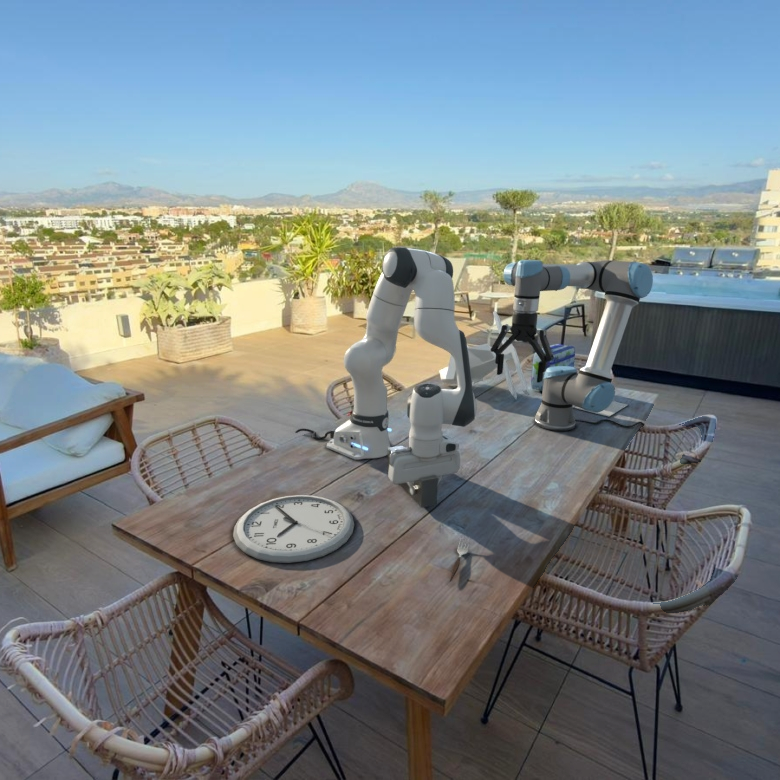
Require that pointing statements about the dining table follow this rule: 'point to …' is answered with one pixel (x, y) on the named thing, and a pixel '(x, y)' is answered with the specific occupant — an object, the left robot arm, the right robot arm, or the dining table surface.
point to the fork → (461, 551)
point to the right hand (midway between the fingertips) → (519, 377)
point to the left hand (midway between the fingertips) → (423, 491)
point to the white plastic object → (486, 364)
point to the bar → (420, 486)
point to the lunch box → (553, 362)
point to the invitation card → (609, 409)
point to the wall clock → (293, 529)
